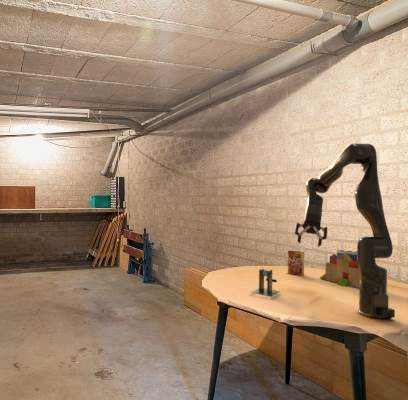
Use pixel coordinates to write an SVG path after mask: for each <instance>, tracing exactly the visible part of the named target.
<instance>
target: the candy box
mask: <svg viewBox="0 0 408 400" xmlns="http://www.w3.org/2000/svg"><path fill="white" fill-rule="evenodd" d="M287 274H291V275H297V276H305V251H302V250H294V249H288V250H287Z"/></svg>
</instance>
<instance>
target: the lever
mask: <svg viewBox="0 0 408 400" xmlns="http://www.w3.org/2000/svg"><path fill="white" fill-rule="evenodd" d="M267 271H269V269H268V270H267V269H264V270H263V273H262V274H263V276H264V277H266V278H265V281H266V282H267ZM277 282H278V280H277V279H274V278H272V283H277Z"/></svg>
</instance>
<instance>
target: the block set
mask: <svg viewBox="0 0 408 400" xmlns="http://www.w3.org/2000/svg"><path fill="white" fill-rule="evenodd" d="M324 272H325V273H324V274H322V275H321V276H320V277H319V279H320V280H324V281H328V282H333V283H336V284H338V285H339V286H342V287H347V286H349V287H352V288H357V289H359V280H360V269H359V266H358V260H357V254H353V253H347V252H340V253H337V252H336V254H335V253H333V254H331V255H329V262H325V271H324Z"/></svg>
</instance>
